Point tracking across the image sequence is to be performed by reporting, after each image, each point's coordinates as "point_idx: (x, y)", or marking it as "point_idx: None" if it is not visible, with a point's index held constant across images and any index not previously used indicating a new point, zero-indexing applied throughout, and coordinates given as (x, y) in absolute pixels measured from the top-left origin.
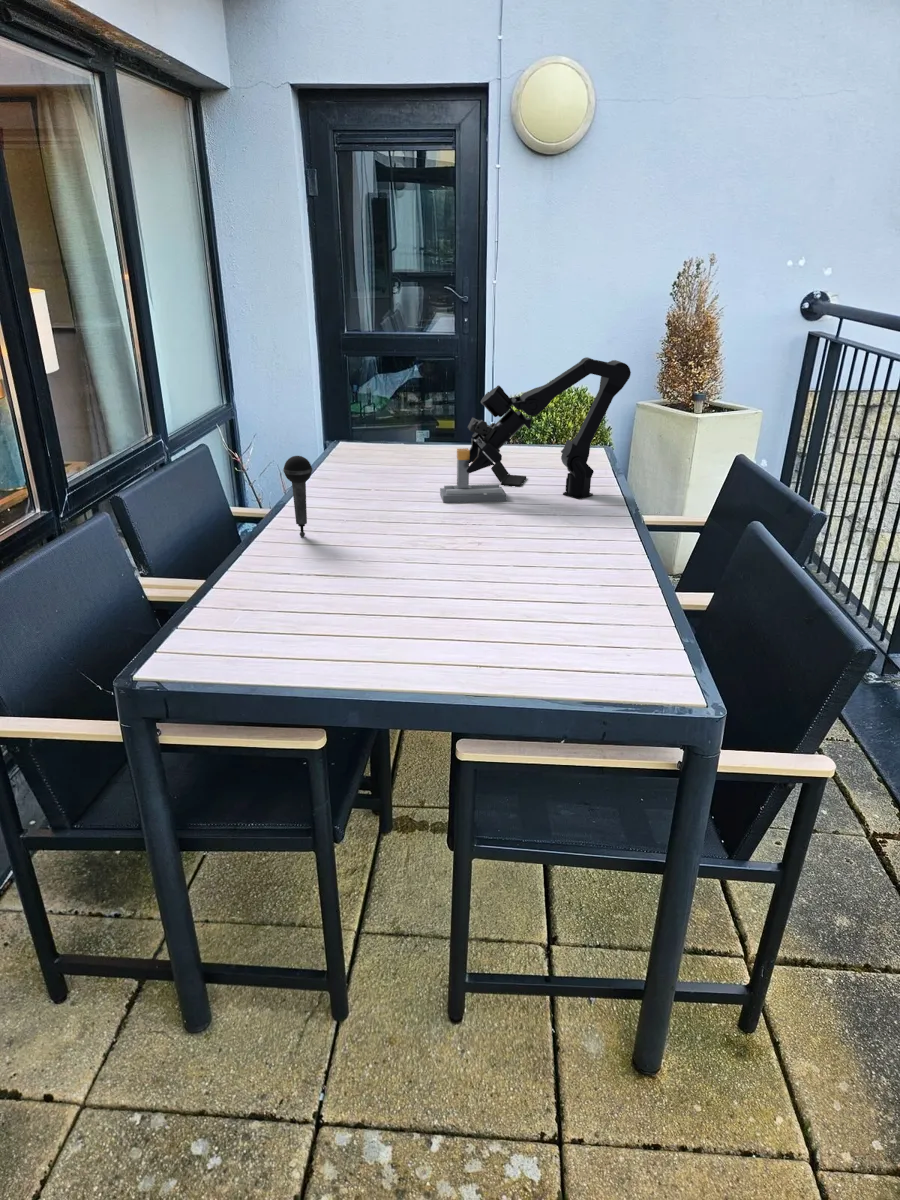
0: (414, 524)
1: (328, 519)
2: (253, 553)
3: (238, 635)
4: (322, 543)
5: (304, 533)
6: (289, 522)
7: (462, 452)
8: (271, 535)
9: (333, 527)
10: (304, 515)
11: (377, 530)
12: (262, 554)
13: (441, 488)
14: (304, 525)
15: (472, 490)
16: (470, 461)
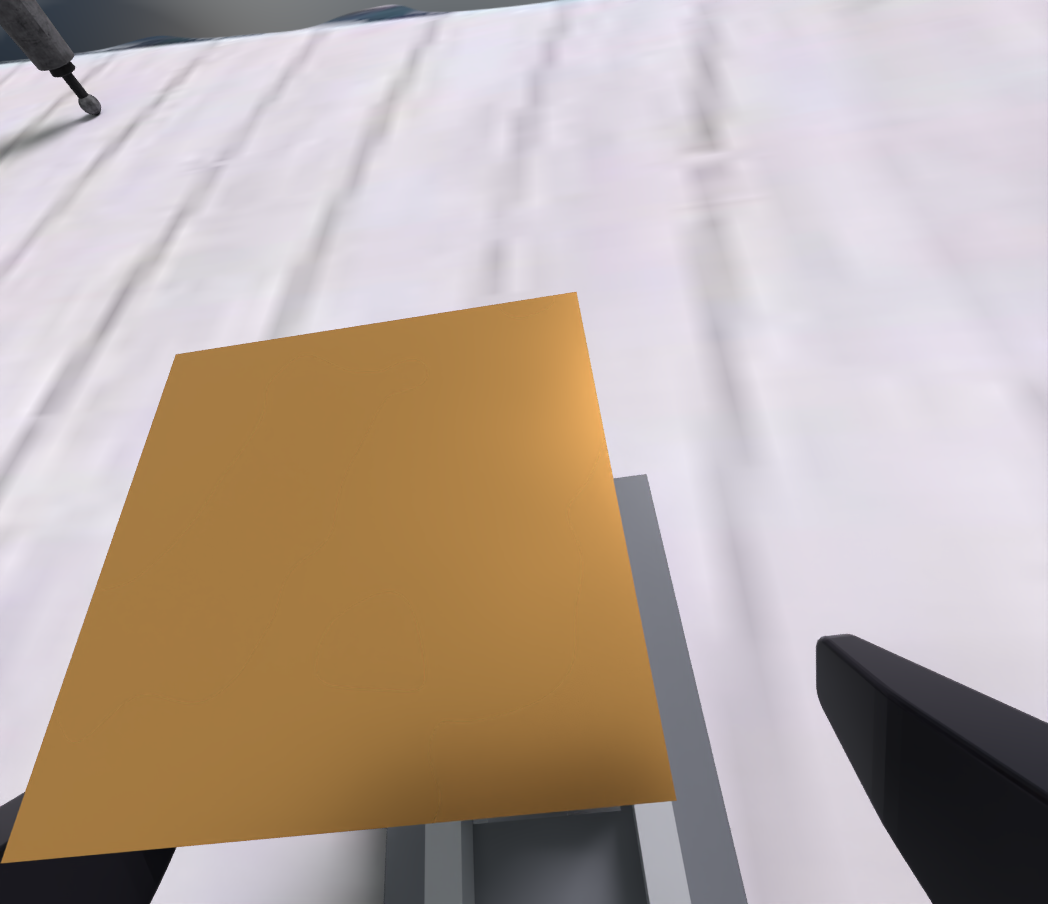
0: (39, 392)
1: (251, 124)
2: (22, 73)
3: None
4: (3, 163)
5: (82, 105)
6: (255, 61)
7: (164, 508)
8: (147, 63)
9: (151, 153)
10: (6, 31)
11: (41, 269)
12: (2, 87)
13: (640, 485)
14: (53, 74)
15: (428, 824)
16: (936, 880)
